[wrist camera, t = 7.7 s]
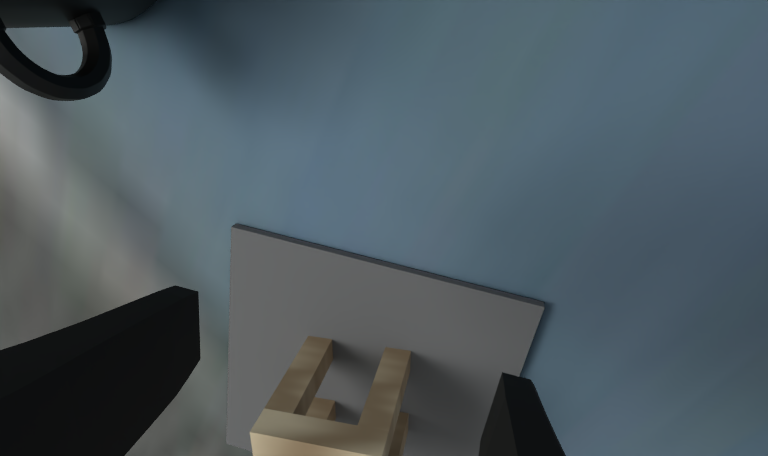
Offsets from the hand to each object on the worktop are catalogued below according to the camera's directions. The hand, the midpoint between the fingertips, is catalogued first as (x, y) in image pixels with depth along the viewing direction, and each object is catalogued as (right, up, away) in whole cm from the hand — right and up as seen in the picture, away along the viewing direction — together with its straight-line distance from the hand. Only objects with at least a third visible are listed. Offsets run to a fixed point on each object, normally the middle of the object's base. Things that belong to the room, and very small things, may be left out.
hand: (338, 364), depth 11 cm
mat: (0, -5, +13) cm, 14 cm away
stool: (0, -5, +13) cm, 13 cm away
